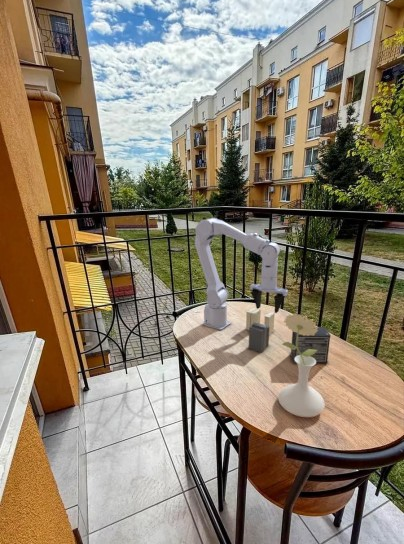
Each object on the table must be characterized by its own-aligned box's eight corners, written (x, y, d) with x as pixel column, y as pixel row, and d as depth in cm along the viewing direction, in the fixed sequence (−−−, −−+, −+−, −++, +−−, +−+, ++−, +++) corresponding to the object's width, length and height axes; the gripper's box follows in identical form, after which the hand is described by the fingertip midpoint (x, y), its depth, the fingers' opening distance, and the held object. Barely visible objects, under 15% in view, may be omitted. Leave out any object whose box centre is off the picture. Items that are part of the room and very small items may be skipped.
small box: (321, 353, 96) (325, 326, 92) (327, 364, 90) (331, 335, 86) (290, 353, 97) (292, 325, 93) (293, 363, 91) (296, 335, 87)
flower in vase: (333, 409, 71) (347, 320, 62) (303, 429, 66) (314, 334, 57) (293, 383, 82) (300, 303, 73) (264, 398, 76) (268, 314, 67)
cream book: (269, 329, 114) (270, 311, 111) (273, 331, 113) (274, 312, 110) (263, 334, 111) (264, 316, 108) (268, 335, 110) (269, 317, 107)
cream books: (246, 329, 115) (246, 311, 112) (251, 325, 119) (252, 307, 116) (254, 331, 113) (254, 313, 110) (260, 327, 117) (260, 309, 114)
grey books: (248, 348, 101) (249, 326, 98) (256, 342, 105) (257, 320, 102) (261, 352, 98) (262, 329, 95) (268, 345, 102) (269, 323, 99)
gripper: (246, 275, 105) (245, 309, 110) (283, 281, 97) (280, 317, 101) (255, 271, 110) (254, 303, 115) (291, 276, 102) (288, 311, 107)
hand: (267, 309), depth 109 cm, fingers open, 7 cm apart
